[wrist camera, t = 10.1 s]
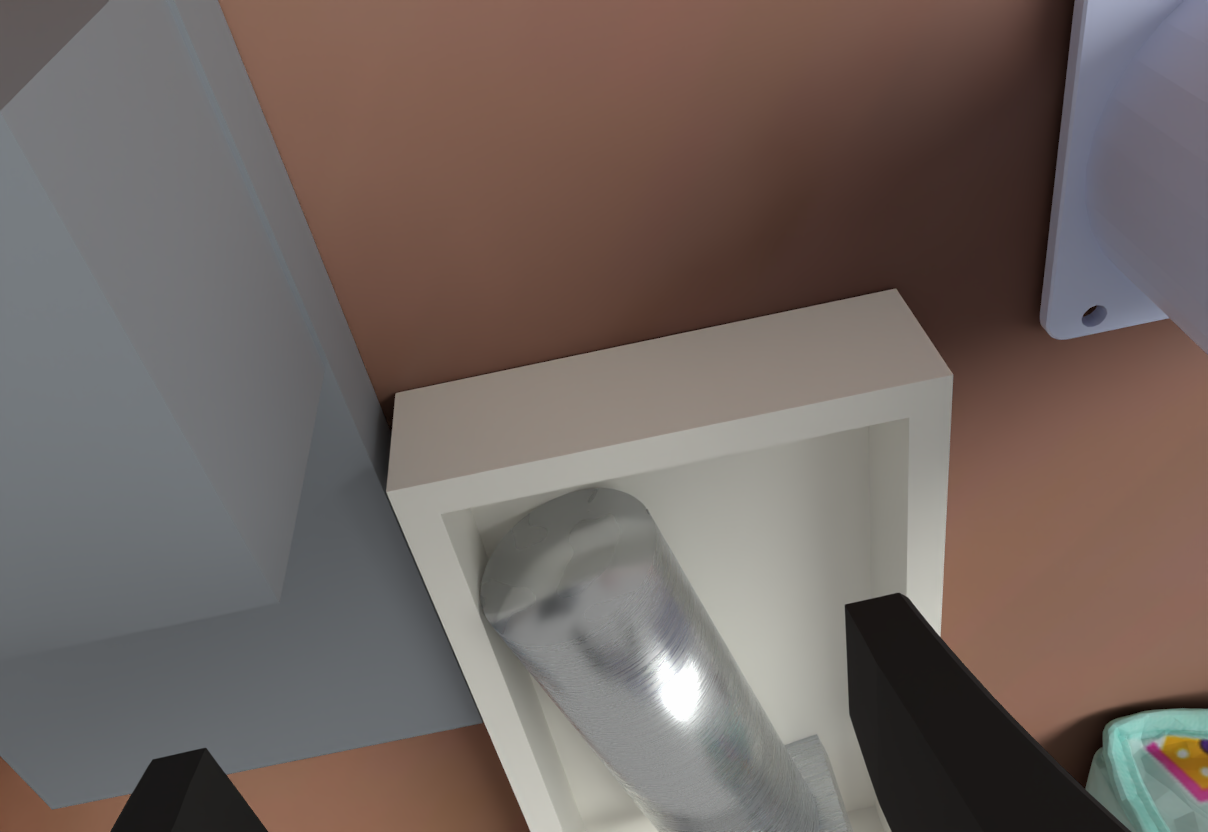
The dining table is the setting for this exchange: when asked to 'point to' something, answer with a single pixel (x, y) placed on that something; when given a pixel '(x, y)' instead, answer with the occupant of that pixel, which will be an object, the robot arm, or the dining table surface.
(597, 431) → the tray
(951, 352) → the dining table surface
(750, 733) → the grey rounded bar
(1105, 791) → the lunch bag
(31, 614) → the hitch block
